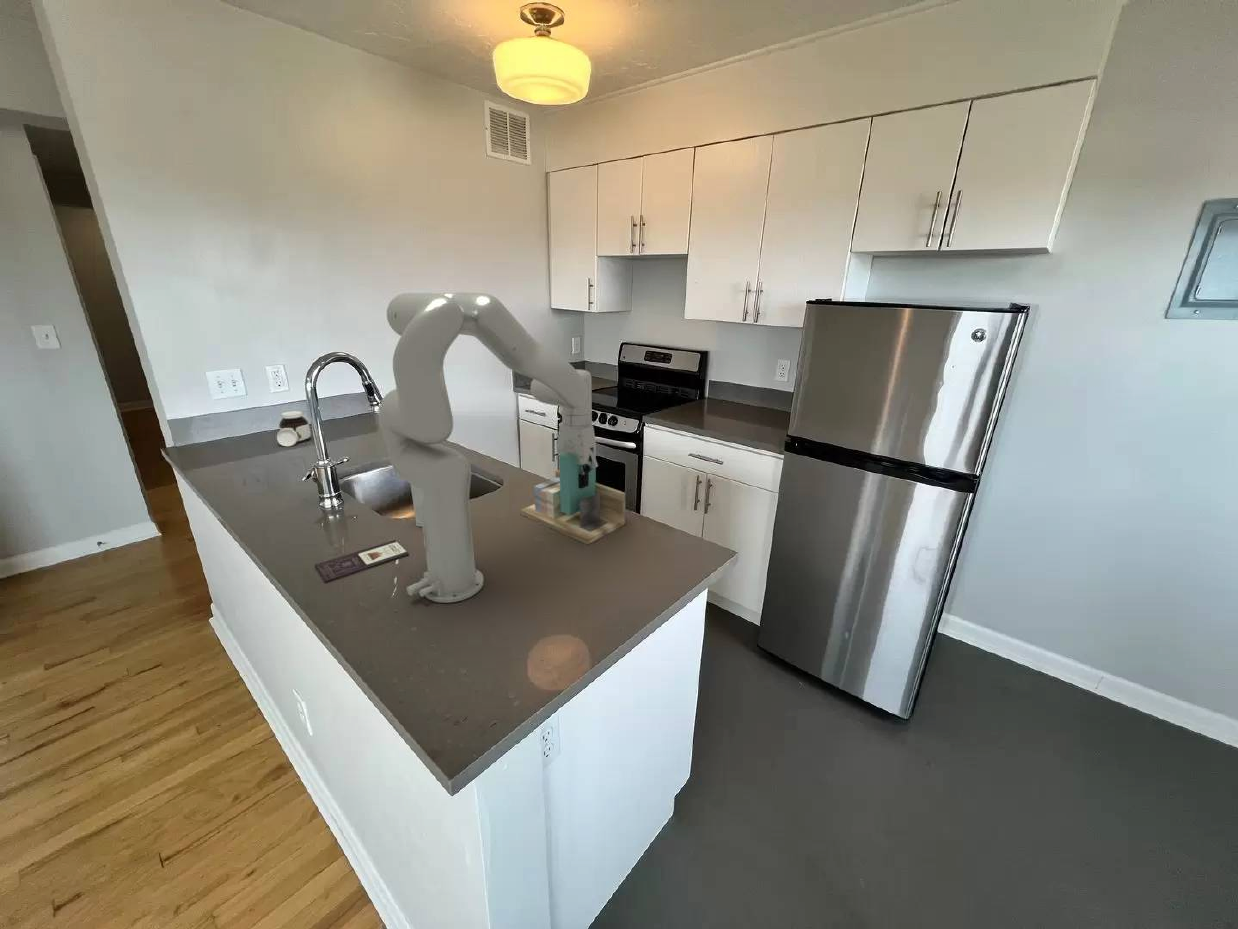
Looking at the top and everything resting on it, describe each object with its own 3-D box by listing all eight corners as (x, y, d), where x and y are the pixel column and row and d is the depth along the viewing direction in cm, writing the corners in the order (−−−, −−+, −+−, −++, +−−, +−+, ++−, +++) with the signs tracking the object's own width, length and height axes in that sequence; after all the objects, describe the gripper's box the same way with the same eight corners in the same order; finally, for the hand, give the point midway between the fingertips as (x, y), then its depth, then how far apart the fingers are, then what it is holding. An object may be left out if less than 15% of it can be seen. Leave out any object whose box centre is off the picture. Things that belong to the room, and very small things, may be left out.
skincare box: (436, 528, 133) (430, 476, 128) (414, 526, 134) (407, 475, 129) (449, 514, 141) (444, 465, 136) (429, 513, 142) (422, 464, 137)
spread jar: (310, 436, 208) (304, 409, 204) (315, 443, 200) (309, 415, 196) (275, 441, 201) (269, 413, 197) (280, 449, 192) (273, 419, 188)
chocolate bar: (314, 564, 115) (394, 540, 126) (315, 568, 115) (395, 543, 126) (325, 581, 108) (408, 553, 120) (326, 585, 109) (409, 557, 120)
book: (570, 515, 132) (568, 458, 127) (560, 511, 134) (559, 455, 129) (595, 503, 139) (595, 449, 134) (586, 500, 141) (586, 446, 136)
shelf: (587, 544, 126) (587, 510, 123) (520, 514, 142) (518, 483, 139) (624, 524, 137) (625, 492, 134) (559, 498, 153) (558, 469, 150)
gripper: (544, 416, 130) (546, 481, 137) (590, 428, 120) (591, 497, 127) (564, 410, 136) (566, 473, 142) (611, 421, 126) (610, 489, 132)
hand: (578, 484), depth 134 cm, fingers closed on book, 3 cm apart
